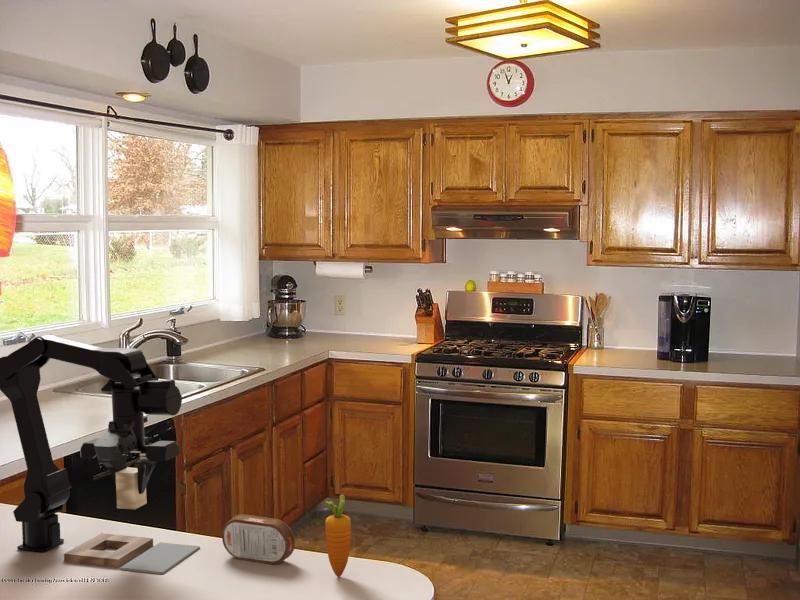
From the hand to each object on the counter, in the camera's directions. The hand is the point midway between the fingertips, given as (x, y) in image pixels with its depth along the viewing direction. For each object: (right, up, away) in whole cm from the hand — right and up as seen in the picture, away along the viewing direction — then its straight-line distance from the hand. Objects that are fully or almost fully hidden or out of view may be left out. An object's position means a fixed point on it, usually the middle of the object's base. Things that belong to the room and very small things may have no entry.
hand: (131, 493), depth 165 cm
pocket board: (-5, -12, +2) cm, 14 cm away
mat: (+6, -13, -1) cm, 14 cm away
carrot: (+41, -13, -10) cm, 45 cm away
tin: (+25, -13, -2) cm, 28 cm away
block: (0, -3, 0) cm, 2 cm away
